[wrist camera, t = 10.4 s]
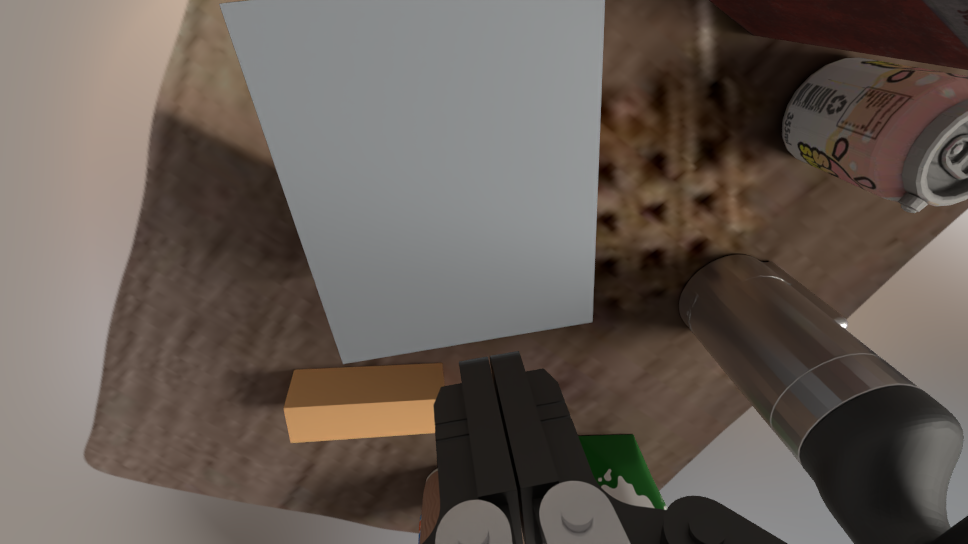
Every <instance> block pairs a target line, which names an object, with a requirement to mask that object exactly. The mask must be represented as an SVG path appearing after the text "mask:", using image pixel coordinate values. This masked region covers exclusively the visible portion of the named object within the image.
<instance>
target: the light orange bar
mask: <svg viewBox="0 0 968 544" xmlns="http://www.w3.org/2000/svg"><path fill="white" fill-rule="evenodd" d="M444 386H445V385H444V375H443V365H442V363H430V364H408V365H386V366H364V367H342V368H320V369H298V370H294V372H293V376H292V380H291V383H290V387H289V390H288V394H287V398H286V401H285V405H284V413H285V418H286V422H287V427H288V432H289V437H290V441H291V443H298V442H312V441H327V440H341V439H355V438H370V437H384V436H398V435H413V434H427V433H435V421H434V407H433V405H434V402H435V400H436V398H437V395H438V393H439V390H440V388H441V387H444Z"/></svg>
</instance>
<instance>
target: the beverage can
mask: <svg viewBox="0 0 968 544" xmlns="http://www.w3.org/2000/svg"><path fill="white" fill-rule="evenodd" d="M782 138H783V140H784V143H785V146H786V148H787V150H788V151H789V152H790V153H791V154H792V155H793V156H794V157H795V158H796V159H799V160H801V161H803V162H805V163H807V164H810V165H812V166H814V167H816V168H818V169H821V170H823V171H825V172H827V173H829V174H831V175H834V176H836V177H838V178H840V179H842V180H845V181H847V182H849V183H851V184H853V185H856V186H858V187H860V188H862V189H864V190H866V191H869V192H871V193H873V194H875V195H877V196H880V197H882V198H885V199H888V200H892V201H896V202H899V203H900V204H901V208H902V209H903V210H905V211H907V212H911V213H916V212H919V211H920V210H922V209H923V208H924V207H925V206H927V205H928V204H930V205H934V206H946V205H952V204H955V203H958V202H961V201H963V200H966V199H968V76H962V75H957V74H951V73H945V72H939V71H934V70H928V69H922V68H916V67H910V66H905V65H899V64H893V63H887V62H882V61H876V60H870V59H864V58H845V59H841V60H838V61H836V62H833V63H830V64H827V65H825V66H824V67H822V68H821V69H819V70H818V71H816V72H815V73H814V74H812V75H811V76H810V77H808V78H807V79H806V81H805V82H804V83H803V84H802V85H801V86H800V87H799V88H798V89H797V90H796V91H795V93H794V95H793V96H792V98H791V100H790V101H789V103H788V105H787V108H786V111H785V114H784V117H783V121H782Z"/></svg>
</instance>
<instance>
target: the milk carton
mask: <svg viewBox="0 0 968 544" xmlns="http://www.w3.org/2000/svg"><path fill="white" fill-rule="evenodd" d="M578 437H579V440H580V442H581V445H582V448H583V450H584V453H585V455H586V458H587V461H588V463H589V466H590V469H591V471H592V474H593V476H594V478H595V480H596V481H597V483H598V484H599V485H600V486H601V488H602V489H603V490H604V491H605V492H607V493H608V494H609V495H611V496H612V497H614V498H615V499H617V500H619V501H621V502H624V503H627V504H630V505H635V506H642V507H649V508H657V509H664V510H667V507H666V504H665V502H664V500H663V498H662V496H661V494H660V492H659V490H658V488H657V486H656V484H655V482H654V480H653V478H652V476H651V474H650V472H649V469H648V467H647V465H646V463H645V460H644V458H643V456H642V453H641V451H640V449H639V447H638V444H637V442H636V440H635V437H634V435H633V434H629V435H594V436H578Z"/></svg>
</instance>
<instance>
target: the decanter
mask: <svg viewBox="0 0 968 544" xmlns="http://www.w3.org/2000/svg"><path fill="white" fill-rule="evenodd" d="M709 1H710V2H712V3H713V4H714V5H715V6H717V7H718V8H719V9H721V10H722V11H723V12H724V13H726V14H727V15H728V16H729V17H731V18H732V19H733V20H734V21H736V22H737V23H738V24H739V25H741V26H742V27H743V28H744V29H746V30H747V31H748V32H749V33H751V34H752V35H755V36H761V37H768V38H774V39H780V40H786V41H792V42H799V43H805V44H811V45H817V46H823V47H829V48H836V49H842V50H848V51H854V52H860V53H867V54H873V55H879V56H885V57H891V58H897V59H904V60H910V61H916V62H922V63H928V64H935V65H941V66H947V67H953V68H959V69H965V70H968V0H709Z"/></svg>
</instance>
